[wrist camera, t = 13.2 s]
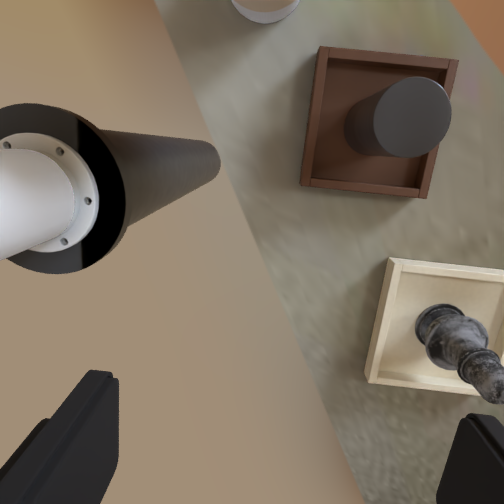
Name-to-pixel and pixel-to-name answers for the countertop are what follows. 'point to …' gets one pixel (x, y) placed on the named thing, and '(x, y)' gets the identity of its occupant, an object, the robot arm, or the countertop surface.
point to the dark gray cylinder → (400, 119)
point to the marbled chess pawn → (461, 349)
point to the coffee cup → (265, 9)
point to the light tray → (413, 304)
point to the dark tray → (337, 108)
